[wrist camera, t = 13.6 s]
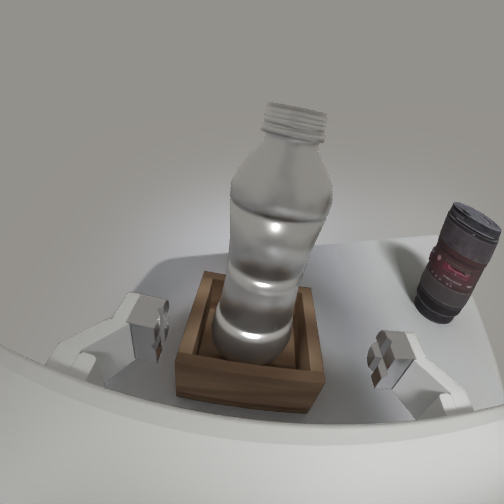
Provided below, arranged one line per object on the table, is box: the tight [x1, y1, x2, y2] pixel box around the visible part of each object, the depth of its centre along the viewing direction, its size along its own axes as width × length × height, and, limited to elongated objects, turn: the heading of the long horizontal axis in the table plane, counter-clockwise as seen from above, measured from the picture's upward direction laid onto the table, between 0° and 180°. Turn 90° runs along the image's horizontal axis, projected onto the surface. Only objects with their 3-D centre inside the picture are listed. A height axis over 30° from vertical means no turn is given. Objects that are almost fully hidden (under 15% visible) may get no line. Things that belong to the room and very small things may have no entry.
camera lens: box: [415, 202, 501, 324], centre depth 33 cm, size 8×8×15 cm
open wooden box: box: [175, 271, 325, 414], centre depth 25 cm, size 12×10×4 cm
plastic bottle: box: [211, 102, 332, 366], centre depth 21 cm, size 6×7×20 cm
